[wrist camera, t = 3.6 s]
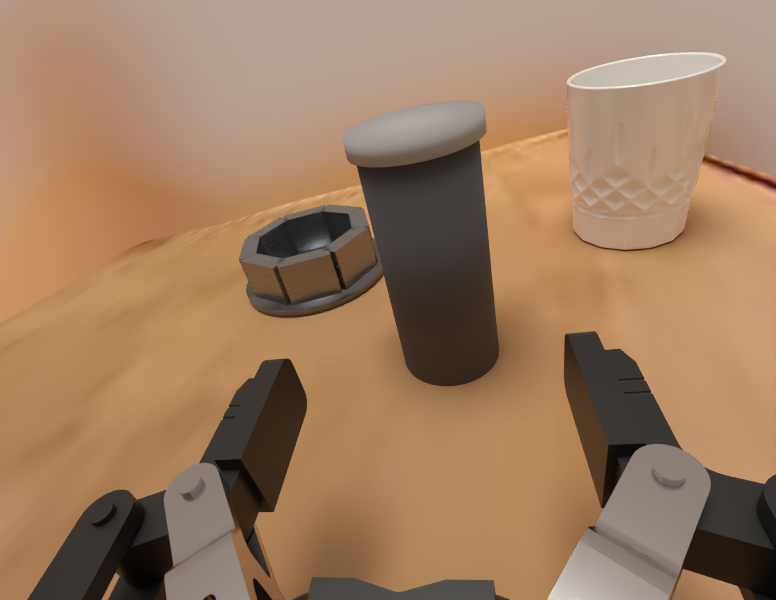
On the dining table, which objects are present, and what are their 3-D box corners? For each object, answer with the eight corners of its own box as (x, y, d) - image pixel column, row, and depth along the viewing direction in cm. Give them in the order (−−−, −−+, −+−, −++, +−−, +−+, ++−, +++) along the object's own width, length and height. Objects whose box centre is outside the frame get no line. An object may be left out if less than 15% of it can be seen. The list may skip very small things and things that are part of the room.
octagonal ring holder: (221, 299, 34) (201, 259, 32) (316, 234, 41) (304, 198, 39) (321, 332, 28) (303, 284, 26) (414, 248, 34) (406, 206, 32)
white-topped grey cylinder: (379, 370, 24) (313, 146, 17) (433, 311, 27) (394, 106, 20) (474, 404, 20) (436, 143, 14) (521, 332, 24) (508, 96, 17)
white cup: (600, 197, 35) (608, 57, 30) (715, 214, 29) (751, 46, 24) (542, 239, 32) (539, 89, 26) (660, 267, 26) (688, 84, 20)
